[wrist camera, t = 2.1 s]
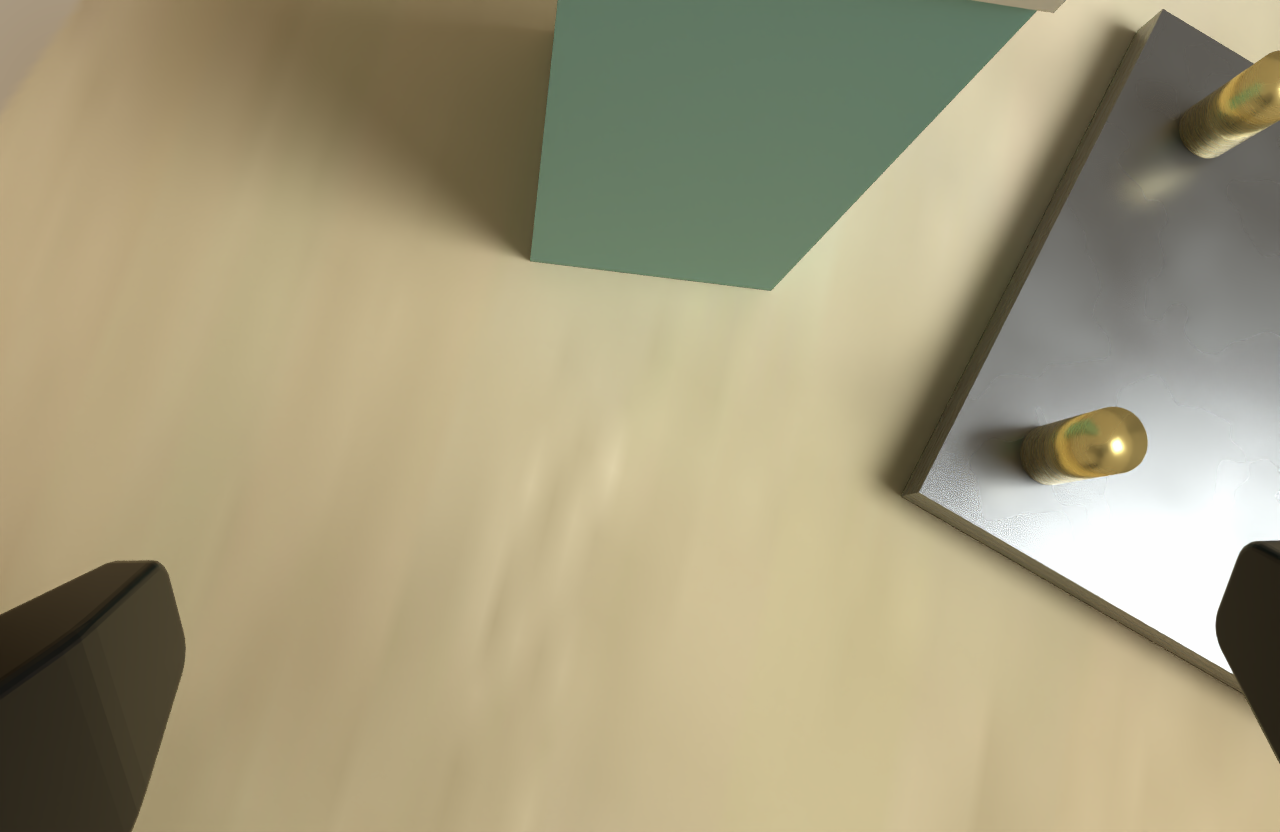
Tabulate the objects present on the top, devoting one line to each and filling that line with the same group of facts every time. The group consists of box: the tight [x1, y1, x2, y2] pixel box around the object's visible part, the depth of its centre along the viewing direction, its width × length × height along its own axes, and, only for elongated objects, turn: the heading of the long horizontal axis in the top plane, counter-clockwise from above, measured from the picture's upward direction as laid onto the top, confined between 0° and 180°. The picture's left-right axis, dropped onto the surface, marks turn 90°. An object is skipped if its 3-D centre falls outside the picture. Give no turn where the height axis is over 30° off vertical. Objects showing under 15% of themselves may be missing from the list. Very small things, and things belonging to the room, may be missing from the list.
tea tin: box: [530, 0, 1066, 291], centre depth 17 cm, size 5×5×13 cm
